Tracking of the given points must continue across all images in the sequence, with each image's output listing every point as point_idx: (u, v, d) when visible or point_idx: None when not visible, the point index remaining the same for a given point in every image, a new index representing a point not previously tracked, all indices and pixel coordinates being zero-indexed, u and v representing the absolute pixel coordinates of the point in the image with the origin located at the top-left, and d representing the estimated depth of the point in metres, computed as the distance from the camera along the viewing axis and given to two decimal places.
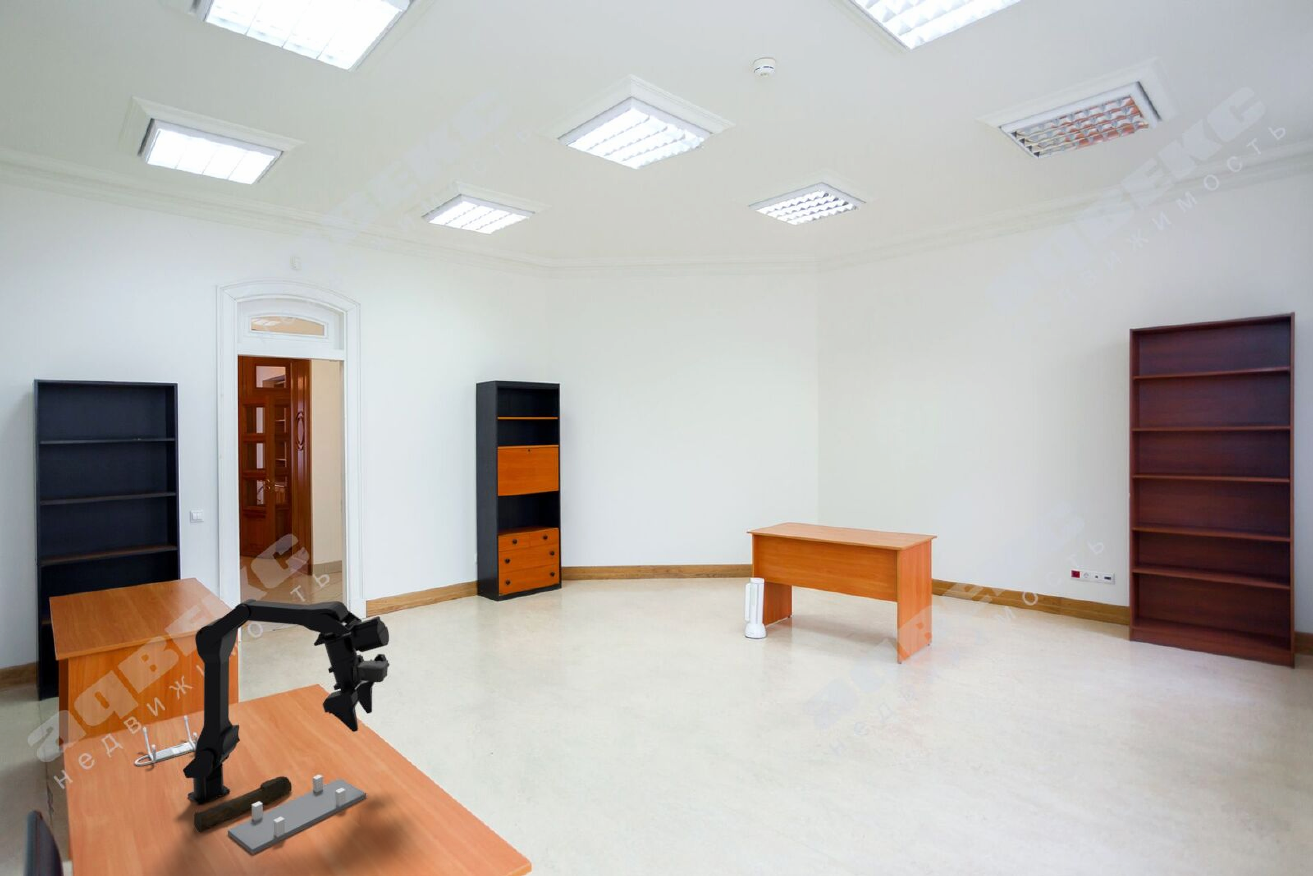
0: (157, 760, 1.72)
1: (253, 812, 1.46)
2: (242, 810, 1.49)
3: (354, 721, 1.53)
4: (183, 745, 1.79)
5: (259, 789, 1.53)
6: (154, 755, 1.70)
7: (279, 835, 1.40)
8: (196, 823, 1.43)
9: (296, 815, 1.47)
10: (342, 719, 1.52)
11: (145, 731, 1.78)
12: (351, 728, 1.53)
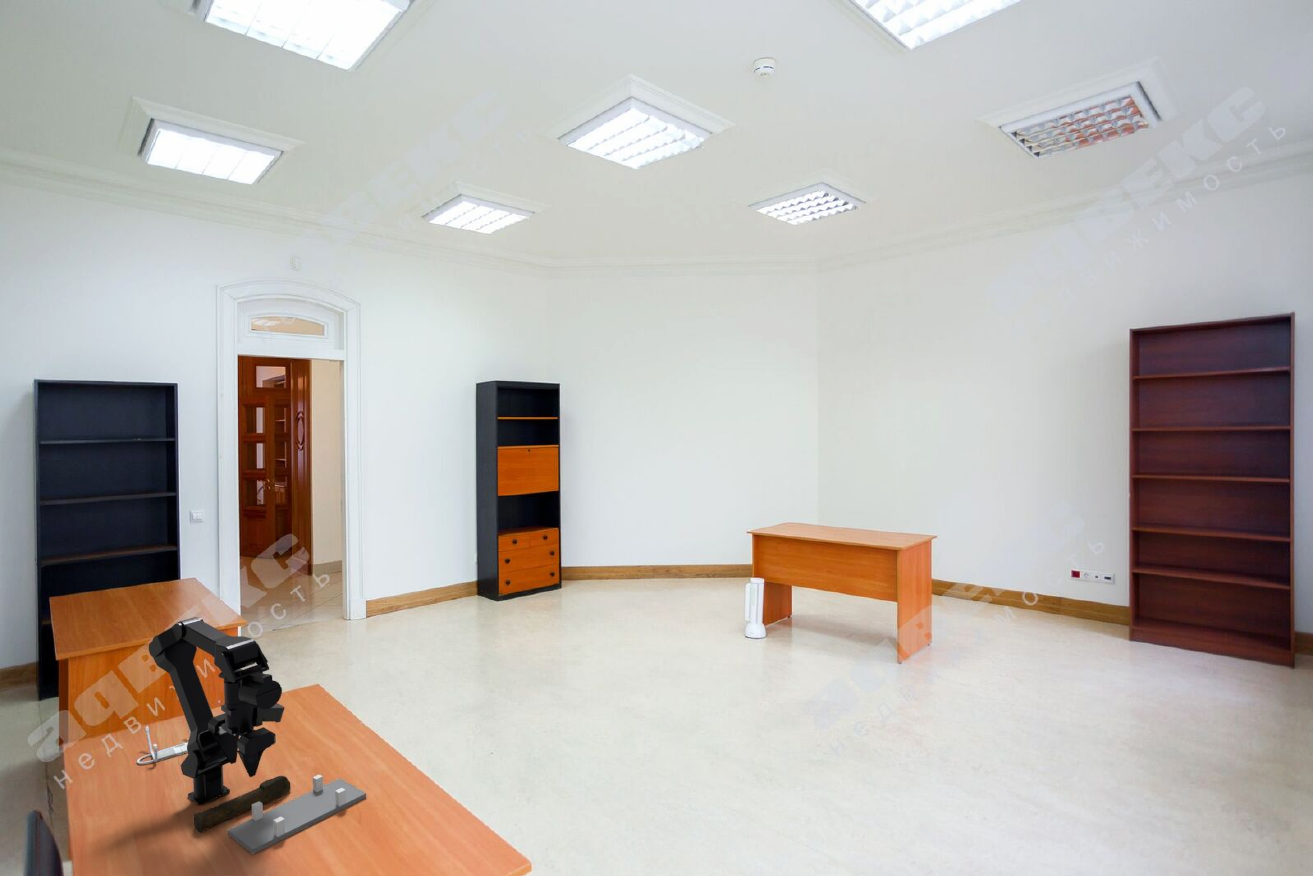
0: (159, 759, 1.72)
1: (253, 812, 1.46)
2: (242, 810, 1.49)
3: (257, 764, 1.48)
4: (185, 744, 1.79)
5: (258, 789, 1.53)
6: (156, 754, 1.70)
7: (279, 835, 1.40)
8: (196, 823, 1.43)
9: (296, 815, 1.47)
10: (247, 763, 1.46)
11: (147, 730, 1.79)
12: (251, 773, 1.47)
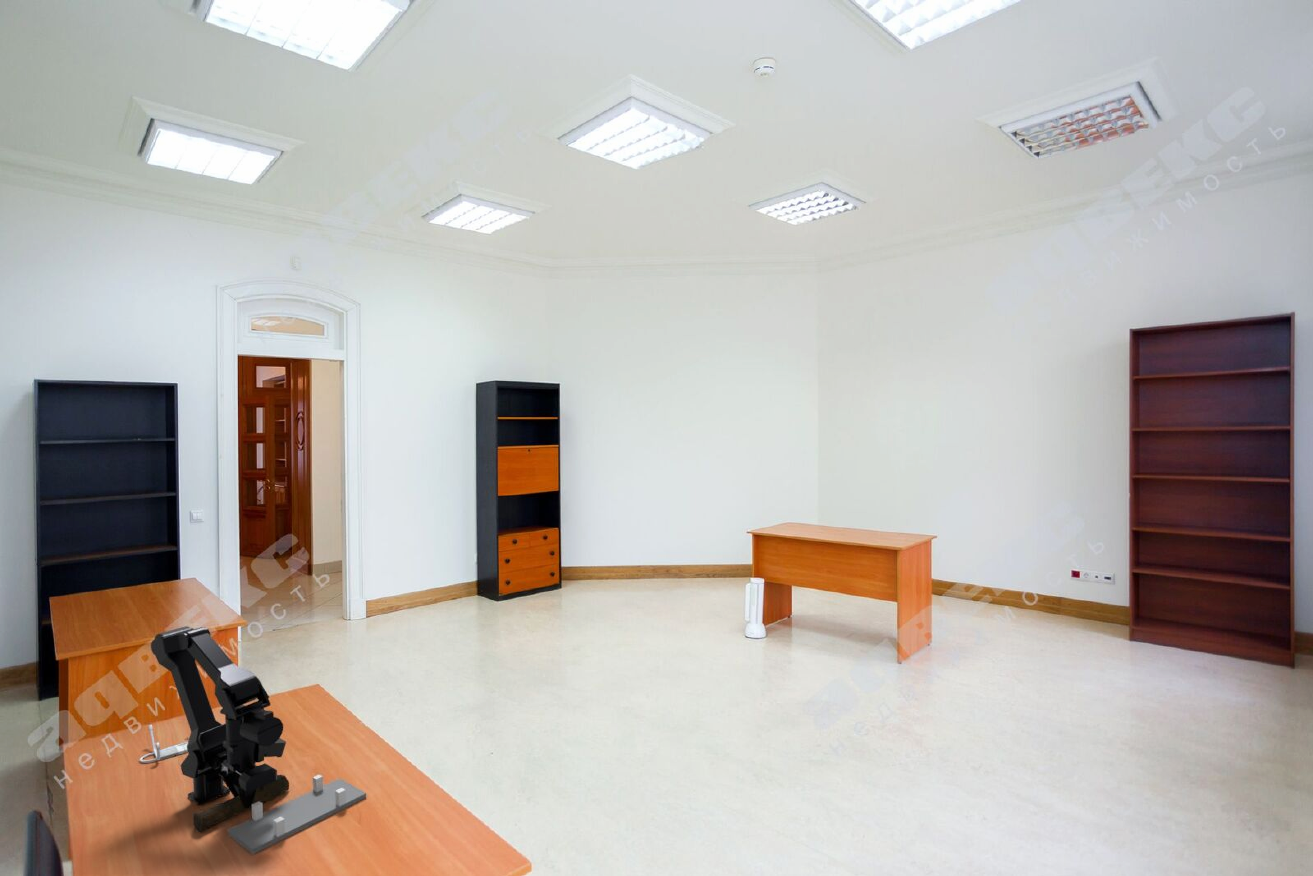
0: (161, 758, 1.73)
1: (253, 812, 1.46)
2: (241, 809, 1.49)
3: (253, 796, 1.50)
4: None
5: (257, 788, 1.53)
6: (158, 753, 1.71)
7: (279, 835, 1.40)
8: (196, 823, 1.43)
9: (296, 815, 1.47)
10: (243, 795, 1.48)
11: (151, 728, 1.80)
12: (246, 805, 1.49)
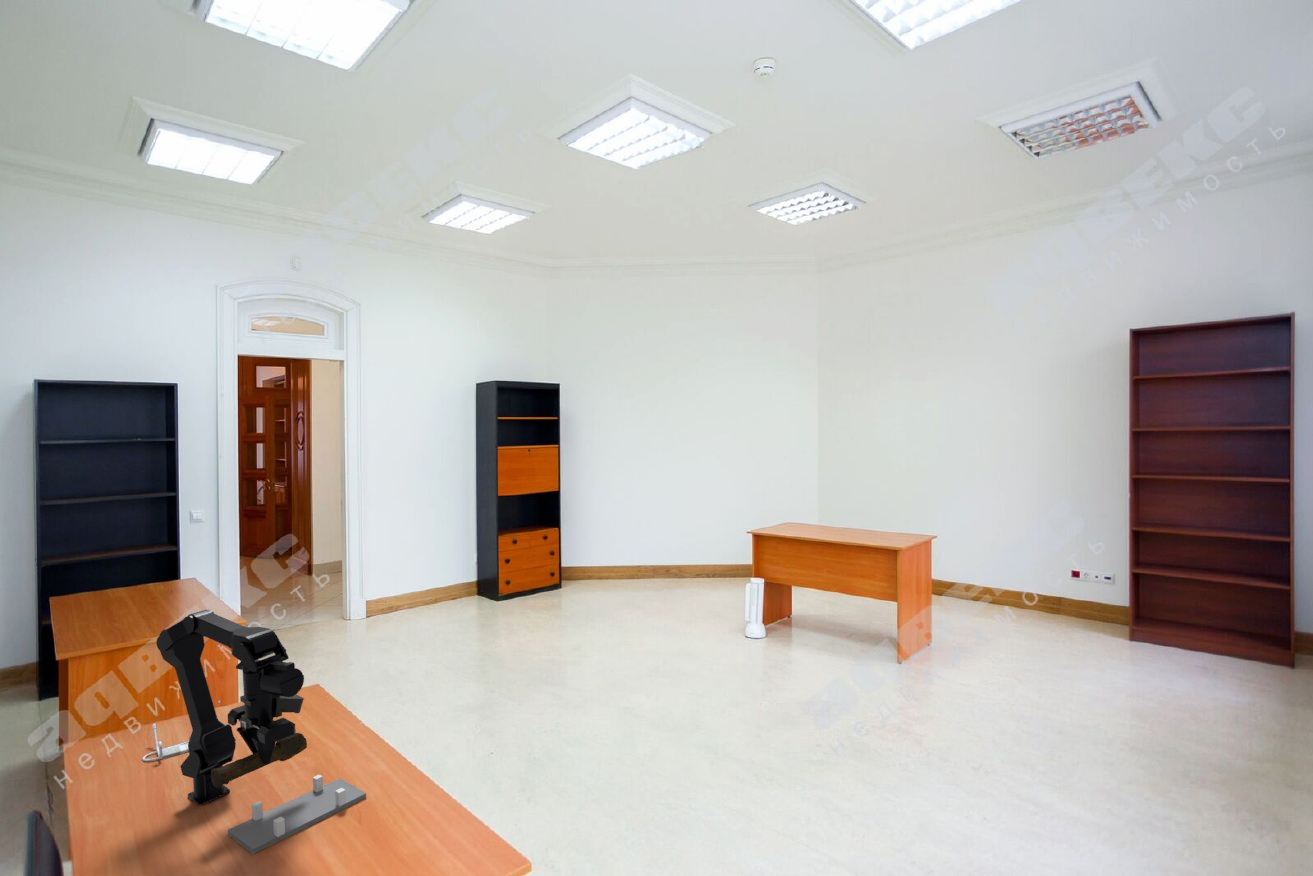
0: (164, 756, 1.74)
1: (253, 812, 1.46)
2: (259, 766, 1.48)
3: (271, 751, 1.48)
4: None
5: (275, 745, 1.52)
6: (160, 752, 1.71)
7: (279, 835, 1.40)
8: (214, 779, 1.41)
9: (296, 815, 1.47)
10: (261, 750, 1.46)
11: (154, 727, 1.81)
12: (265, 760, 1.48)
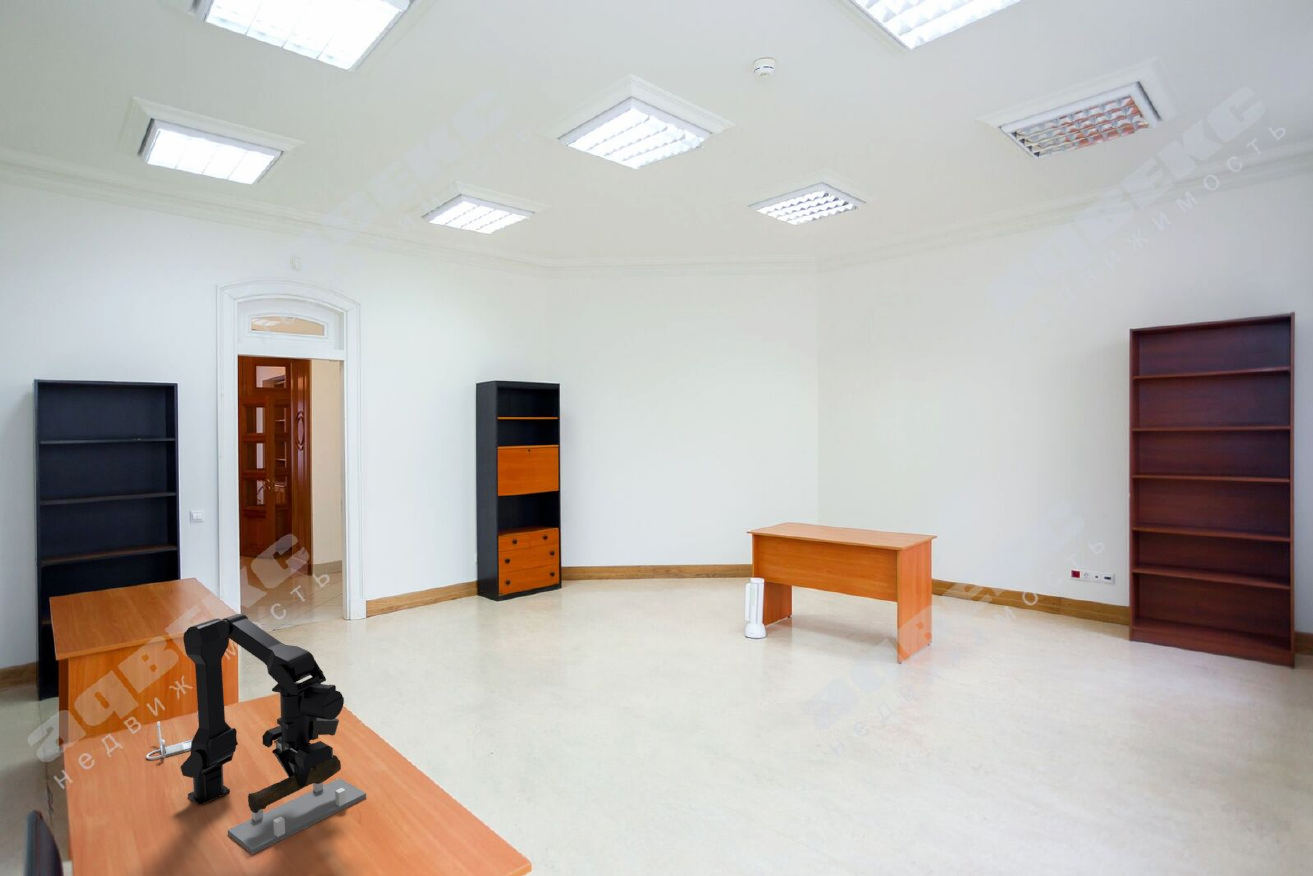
0: (167, 755, 1.74)
1: None
2: (296, 789, 1.47)
3: (307, 774, 1.47)
4: None
5: None
6: (163, 750, 1.72)
7: (279, 835, 1.40)
8: (252, 804, 1.40)
9: (296, 815, 1.47)
10: (298, 773, 1.45)
11: (159, 725, 1.81)
12: (301, 783, 1.47)
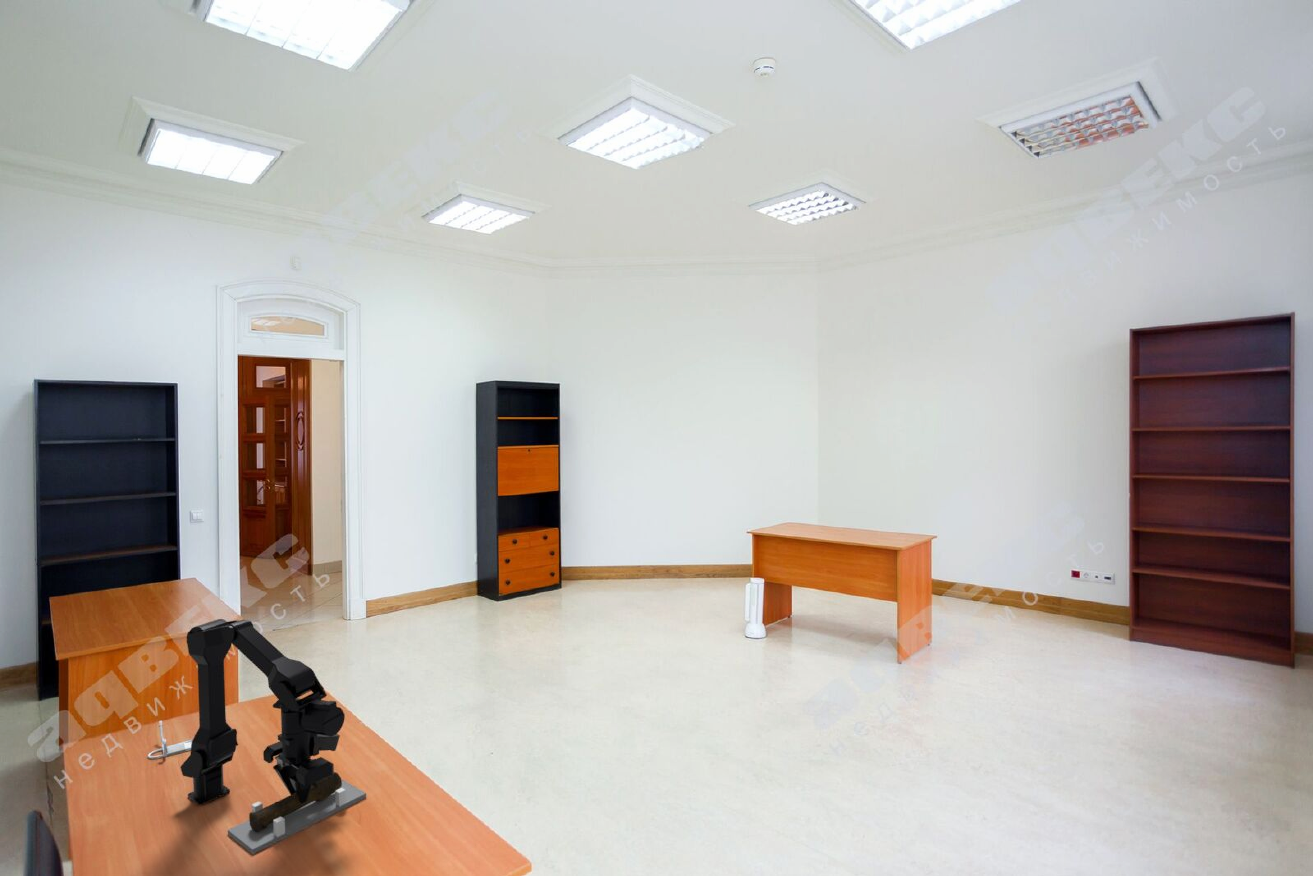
0: (168, 754, 1.75)
1: None
2: (297, 808, 1.47)
3: (308, 790, 1.47)
4: None
5: (311, 786, 1.51)
6: (164, 749, 1.73)
7: (279, 835, 1.40)
8: (253, 823, 1.41)
9: (296, 815, 1.47)
10: (299, 789, 1.45)
11: (161, 724, 1.82)
12: (302, 799, 1.47)
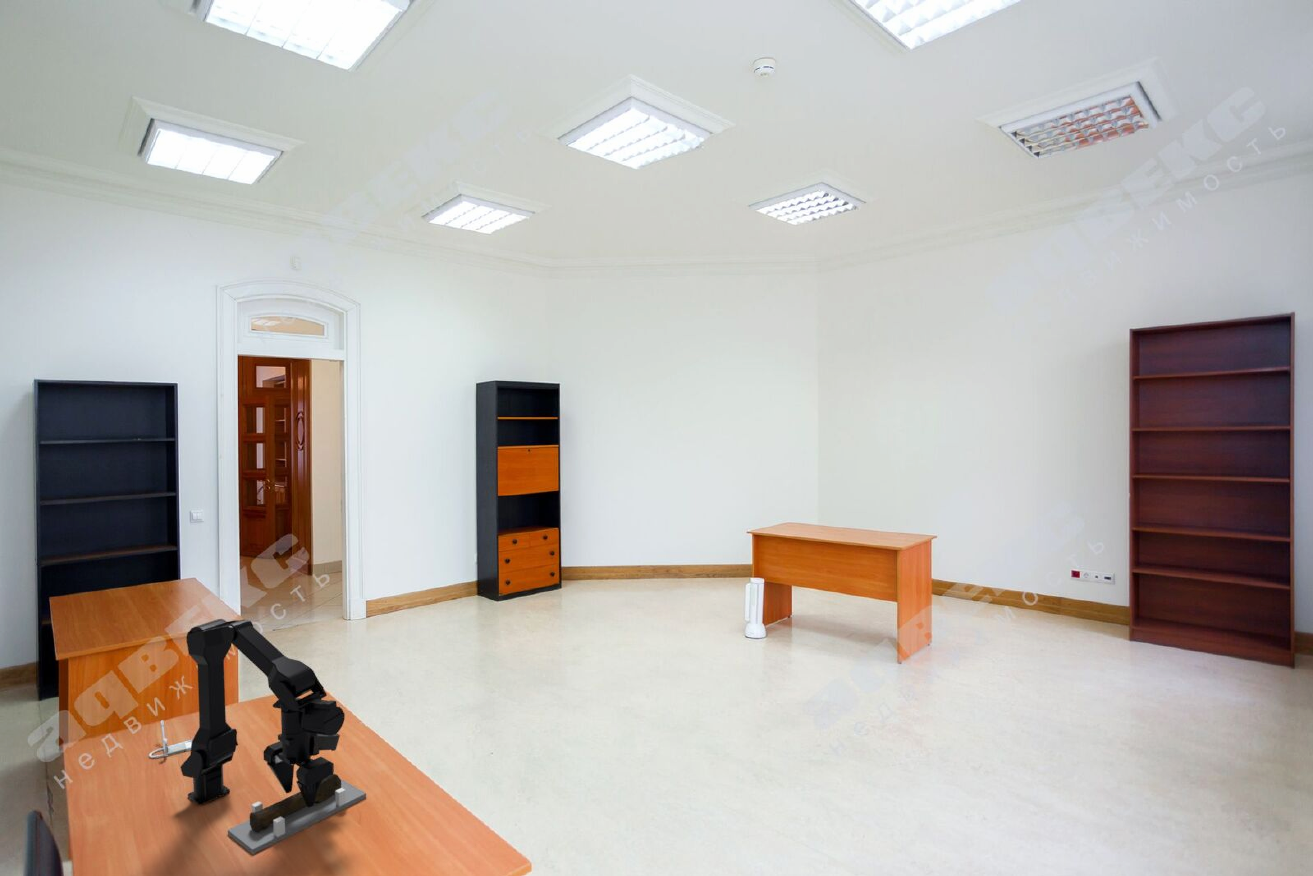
0: (169, 754, 1.75)
1: None
2: (297, 809, 1.47)
3: (315, 794, 1.46)
4: None
5: None
6: (165, 749, 1.73)
7: (279, 835, 1.40)
8: (254, 823, 1.41)
9: (296, 815, 1.47)
10: (306, 793, 1.44)
11: (162, 724, 1.82)
12: (309, 803, 1.45)
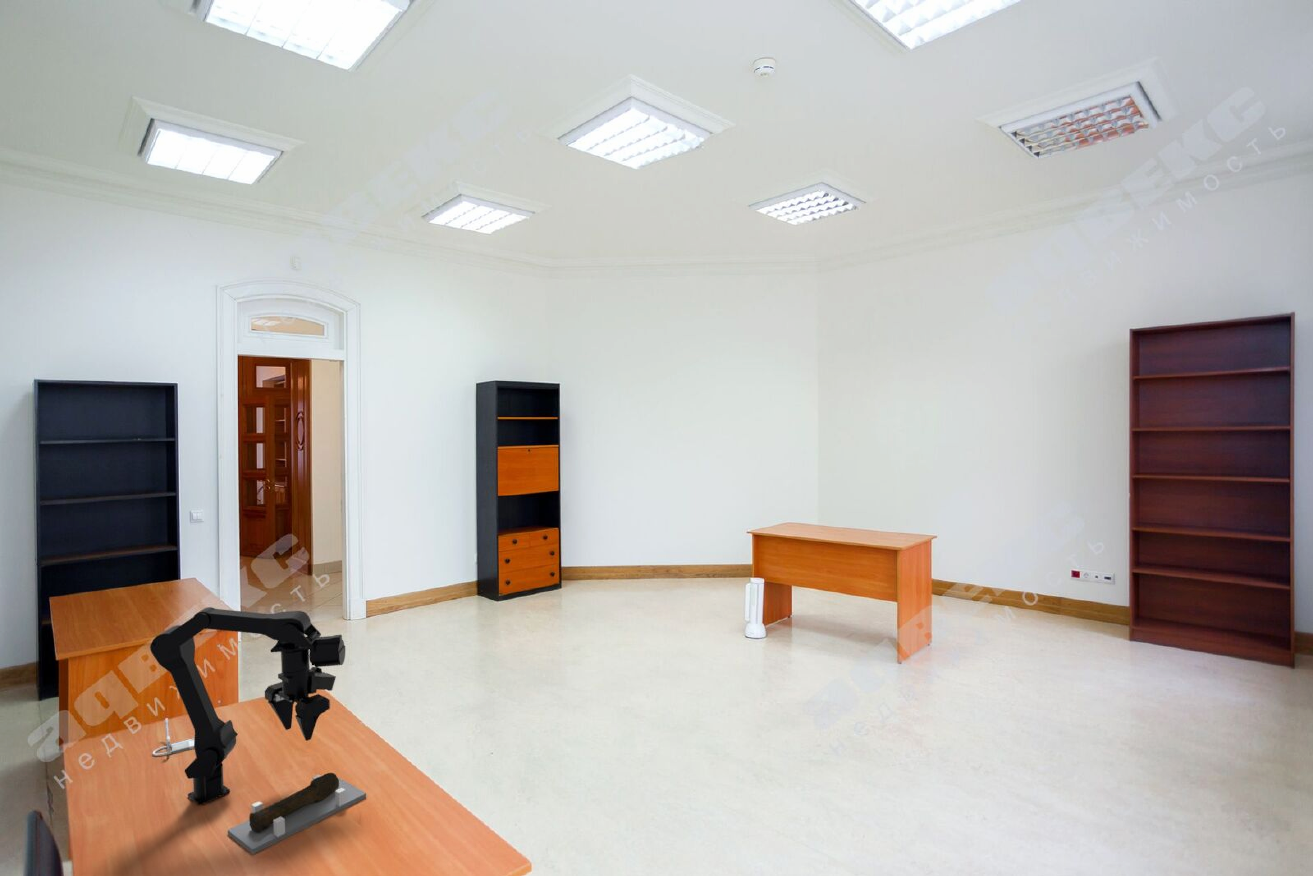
0: (172, 752, 1.76)
1: (253, 812, 1.46)
2: (296, 808, 1.47)
3: (313, 728, 1.57)
4: None
5: (310, 786, 1.51)
6: (168, 747, 1.74)
7: (279, 835, 1.40)
8: (254, 823, 1.40)
9: (296, 815, 1.47)
10: (304, 727, 1.55)
11: (167, 722, 1.83)
12: (307, 736, 1.57)
